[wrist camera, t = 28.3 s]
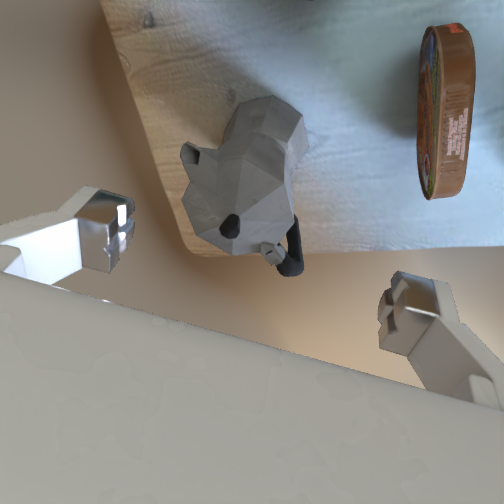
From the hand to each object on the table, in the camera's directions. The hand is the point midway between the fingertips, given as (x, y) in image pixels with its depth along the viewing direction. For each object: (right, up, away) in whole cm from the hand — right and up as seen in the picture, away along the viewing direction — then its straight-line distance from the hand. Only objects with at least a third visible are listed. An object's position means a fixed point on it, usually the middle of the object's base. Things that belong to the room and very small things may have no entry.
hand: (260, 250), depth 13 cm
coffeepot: (+2, +12, +33) cm, 35 cm away
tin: (+17, +14, +28) cm, 36 cm away
